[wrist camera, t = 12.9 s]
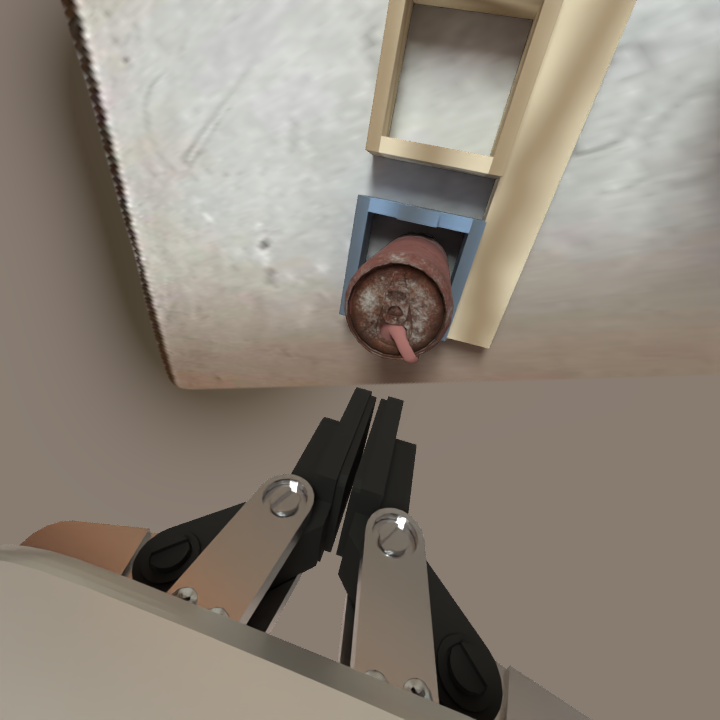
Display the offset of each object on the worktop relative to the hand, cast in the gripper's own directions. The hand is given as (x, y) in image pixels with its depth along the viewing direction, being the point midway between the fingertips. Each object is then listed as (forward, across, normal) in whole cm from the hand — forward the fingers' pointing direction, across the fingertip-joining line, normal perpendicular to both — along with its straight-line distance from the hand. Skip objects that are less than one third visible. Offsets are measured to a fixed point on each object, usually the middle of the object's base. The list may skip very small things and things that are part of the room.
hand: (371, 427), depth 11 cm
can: (+22, +1, -1) cm, 22 cm away
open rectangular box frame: (+22, -1, -8) cm, 23 cm away
